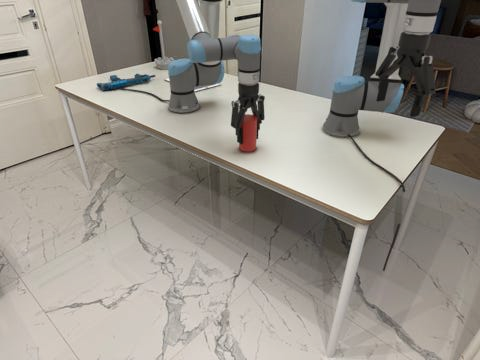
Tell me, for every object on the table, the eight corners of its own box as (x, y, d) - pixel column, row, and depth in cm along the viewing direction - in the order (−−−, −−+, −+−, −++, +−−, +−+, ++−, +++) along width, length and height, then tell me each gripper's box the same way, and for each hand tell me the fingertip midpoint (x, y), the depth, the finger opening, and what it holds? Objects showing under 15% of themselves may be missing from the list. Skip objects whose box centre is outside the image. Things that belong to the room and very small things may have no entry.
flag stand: (172, 63, 245) (167, 18, 229) (176, 68, 235) (171, 21, 219) (154, 65, 241) (147, 19, 225) (157, 70, 231) (150, 22, 215)
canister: (258, 144, 137) (259, 115, 130) (253, 152, 131) (254, 122, 124) (242, 142, 139) (242, 113, 132) (236, 149, 133) (236, 120, 126)
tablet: (164, 79, 213) (164, 79, 213) (191, 73, 224) (191, 73, 224) (193, 92, 193) (193, 91, 193) (221, 85, 204) (221, 84, 204)
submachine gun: (141, 68, 225) (159, 74, 208) (142, 74, 227) (160, 80, 210) (89, 78, 206) (104, 86, 190) (91, 84, 208) (106, 92, 192)
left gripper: (231, 90, 113) (232, 151, 126) (276, 80, 123) (273, 137, 136) (219, 84, 118) (221, 143, 131) (264, 75, 128) (261, 130, 141)
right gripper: (372, 26, 99) (359, 96, 111) (446, 42, 80) (420, 125, 92) (392, 24, 102) (377, 93, 113) (468, 39, 82) (440, 121, 94)
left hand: (247, 140), depth 133 cm, fingers closed on canister, 7 cm apart
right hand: (396, 108), depth 102 cm, fingers open, 13 cm apart
